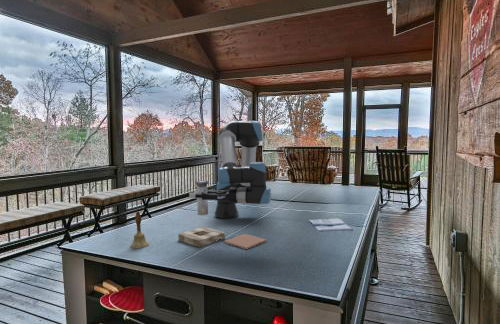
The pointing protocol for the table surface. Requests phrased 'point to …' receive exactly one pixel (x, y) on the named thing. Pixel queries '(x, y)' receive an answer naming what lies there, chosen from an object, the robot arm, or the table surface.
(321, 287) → the table surface
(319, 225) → the white folded cloth
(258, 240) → the terracotta mat
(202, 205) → the aluminium plug
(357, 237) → the table surface
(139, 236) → the hand bell
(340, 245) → the table surface
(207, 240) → the frame
